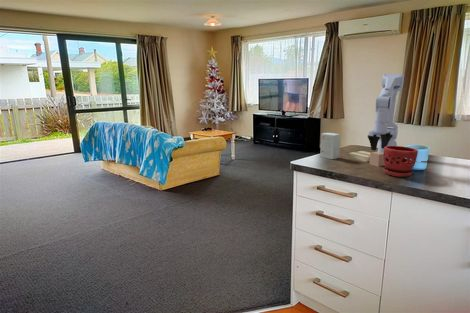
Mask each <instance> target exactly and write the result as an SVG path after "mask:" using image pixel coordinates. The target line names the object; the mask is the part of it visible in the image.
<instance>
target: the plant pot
mask: <svg viewBox="0 0 470 313" xmlns="http://www.w3.org/2000/svg"><path fill="white" fill-rule="evenodd" d="M418 152H419V150H418V149H416V148H413V147H410V146H409V147H408V146H403V145H401V146H400V145H397V146H385V147H384V154H383V160H384V165H383V166H384V167H383V169H382V170H383V172H384V173H385V174H387V175H389V176H392V177H399V178H403V177H409V176H411V175H412V174H413V171H412V169H413V168H414V166H415V164H416V162H417V157H418Z"/></svg>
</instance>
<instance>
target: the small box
mask: <svg viewBox="0 0 470 313" xmlns="http://www.w3.org/2000/svg"><path fill="white" fill-rule="evenodd" d="M320 134H321V136H320V140H321V141H320V154H319V156H320V158H324V159H329V160H330V159H331V160H334V159H339V158H340V149H341V148H340V146H341V133H334V132H323V133H320Z"/></svg>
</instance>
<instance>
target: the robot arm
mask: <svg viewBox="0 0 470 313" xmlns="http://www.w3.org/2000/svg"><path fill="white" fill-rule="evenodd" d="M404 79H405V74H404V73H391V74H390V73H384V74H383V75H382V78H381V85H382V89H381V91H380V93H379V96H378V97H376V99H375V118H374V119H375V121H374V129H372V130H370V131H368V134H367V139H368V141H369V144H370V149H371V151H377V152H381V153H384V147H385V146H398V144H397V141H396V139H397V137H398V131H399V130H398V129H399V128H398V125H397V124H396V123H395V122H394V116H395V108H396V102H397V95H398V93H399V92H401V91H403V87H404Z"/></svg>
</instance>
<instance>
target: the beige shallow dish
mask: <svg viewBox="0 0 470 313" xmlns="http://www.w3.org/2000/svg"><path fill="white" fill-rule="evenodd" d="M370 153H371V152H370V151H364V150H359V151H354V152H353V151H352V152H348V155H347V156H348V157H347V158H348V159H352V160H357V161H359V162H364V163H367V162H370Z"/></svg>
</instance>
